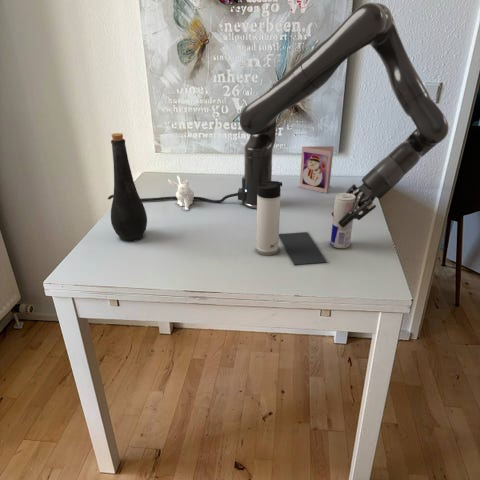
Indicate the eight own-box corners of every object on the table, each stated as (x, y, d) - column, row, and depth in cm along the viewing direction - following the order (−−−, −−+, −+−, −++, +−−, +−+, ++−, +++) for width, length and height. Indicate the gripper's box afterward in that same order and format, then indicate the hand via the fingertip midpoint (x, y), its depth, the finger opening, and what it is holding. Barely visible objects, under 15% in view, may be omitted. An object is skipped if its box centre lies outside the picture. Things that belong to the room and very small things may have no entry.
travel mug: (277, 256, 137) (280, 187, 126) (254, 254, 138) (255, 185, 127) (280, 247, 142) (283, 179, 131) (258, 245, 143) (259, 178, 132)
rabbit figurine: (188, 210, 166) (186, 182, 160) (166, 209, 167) (164, 181, 162) (197, 198, 176) (195, 171, 170) (176, 197, 177) (174, 170, 171)
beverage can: (351, 243, 144) (358, 194, 136) (346, 250, 140) (353, 200, 132) (333, 239, 146) (338, 191, 138) (327, 247, 142) (333, 197, 134)
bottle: (155, 232, 151) (143, 131, 135) (138, 246, 143) (124, 140, 126) (125, 227, 154) (110, 128, 137) (107, 241, 146) (89, 137, 129)
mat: (278, 235, 149) (278, 234, 149) (306, 233, 151) (307, 232, 150) (294, 265, 133) (294, 264, 133) (326, 262, 134) (326, 261, 134)
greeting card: (298, 187, 185) (301, 147, 176) (307, 182, 190) (310, 142, 181) (325, 193, 179) (329, 152, 171) (334, 188, 184) (338, 147, 176)
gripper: (365, 160, 138) (321, 203, 143) (386, 176, 126) (336, 222, 131) (380, 178, 141) (336, 219, 146) (402, 195, 129) (353, 239, 135)
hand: (337, 220), depth 139 cm, fingers closed on beverage can, 5 cm apart
